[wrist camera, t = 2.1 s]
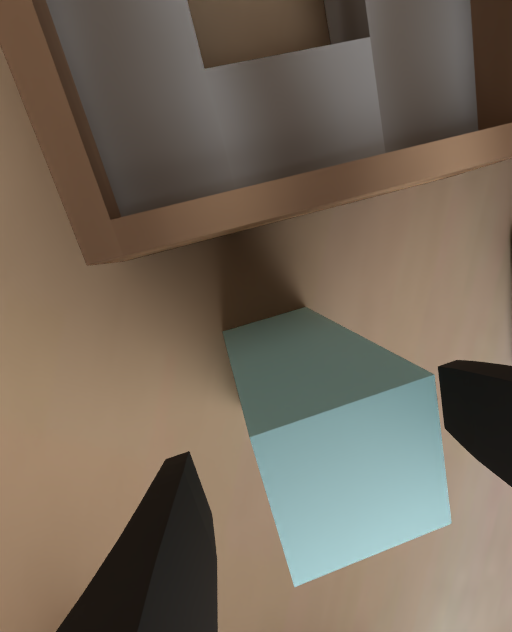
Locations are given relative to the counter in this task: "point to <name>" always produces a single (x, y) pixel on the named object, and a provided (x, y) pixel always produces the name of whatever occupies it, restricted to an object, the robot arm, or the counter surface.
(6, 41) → the bore box
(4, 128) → the counter surface
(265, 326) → the peg
